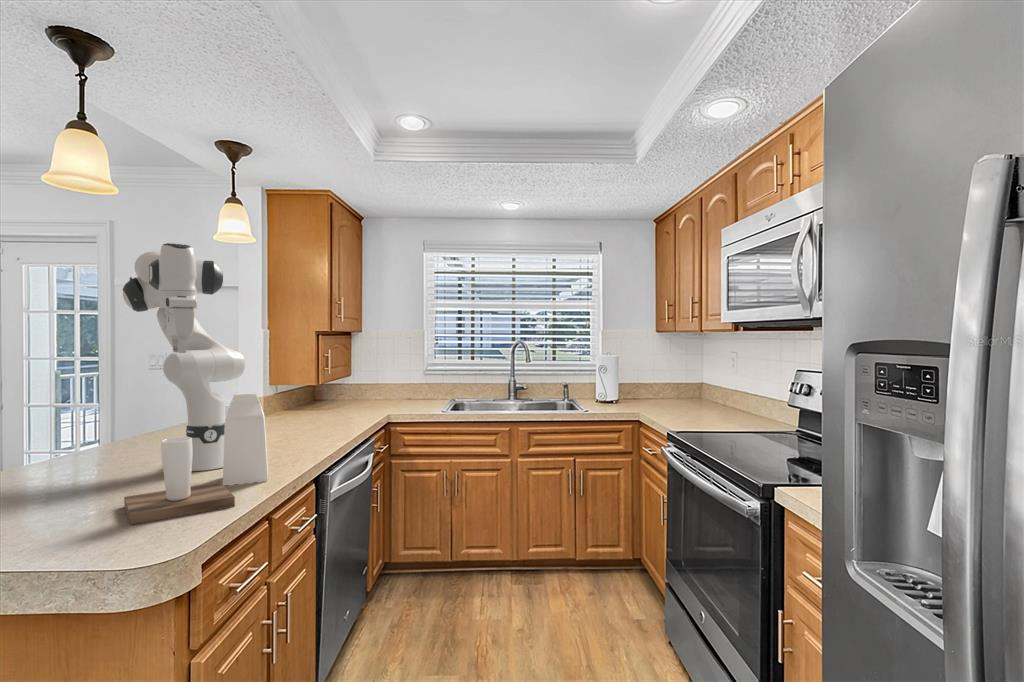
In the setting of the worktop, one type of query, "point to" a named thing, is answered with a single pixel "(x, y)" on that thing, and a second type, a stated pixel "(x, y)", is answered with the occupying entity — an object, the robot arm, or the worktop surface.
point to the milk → (245, 441)
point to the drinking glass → (177, 467)
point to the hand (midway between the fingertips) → (179, 352)
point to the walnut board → (177, 503)
